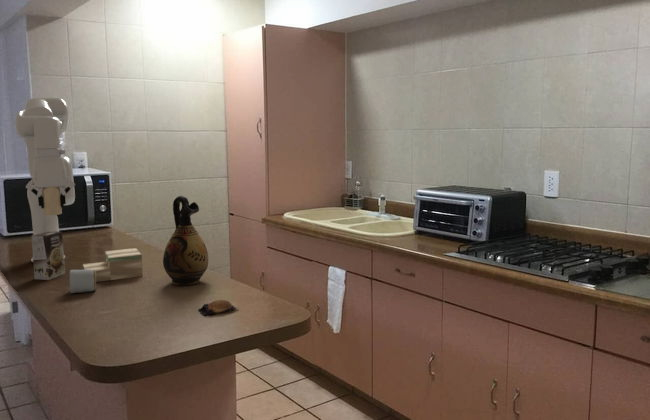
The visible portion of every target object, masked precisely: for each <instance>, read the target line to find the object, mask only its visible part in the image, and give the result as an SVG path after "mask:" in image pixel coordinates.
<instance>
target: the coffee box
mask: <svg viewBox="0 0 650 420" xmlns="http://www.w3.org/2000/svg"><path fill="white" fill-rule="evenodd" d="M31 250H32V258H33V262H32V263H33V273H34V280H42V281H44V280H45V281H50V280H52V279H53V280H54V279H56V278H57V277H61V276H63V275H65V274H66V267H65V265H66V264H65V258H64V255H65V253H64V241H63V231H59V232H44V233H40V234H36V235H33V234H32V235H31Z"/></svg>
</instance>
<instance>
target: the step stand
mask: <svg viewBox="0 0 650 420" xmlns="http://www.w3.org/2000/svg"><path fill="white" fill-rule="evenodd" d="M104 256H105V261H100V262H90V263H89V262H88V263H82V270H95V271H96V283H97V282H105V281H113V280H123V279H129V278H138V277H143V275H144V274H143V271H144V270H143V257H142V253H141V252H140V251H139V249H137V248H136V247H133V248H123V249H115V250H114V249H112V250H105V251H104Z"/></svg>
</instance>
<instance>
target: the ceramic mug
mask: <svg viewBox="0 0 650 420" xmlns="http://www.w3.org/2000/svg"><path fill="white" fill-rule="evenodd" d="M96 290H97V282H96V271H95V270H83V269H70V270H69V292H70V293H69V294H78V293H80V294H81V293H88V292H89V293H91V292H94V291H96Z"/></svg>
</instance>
